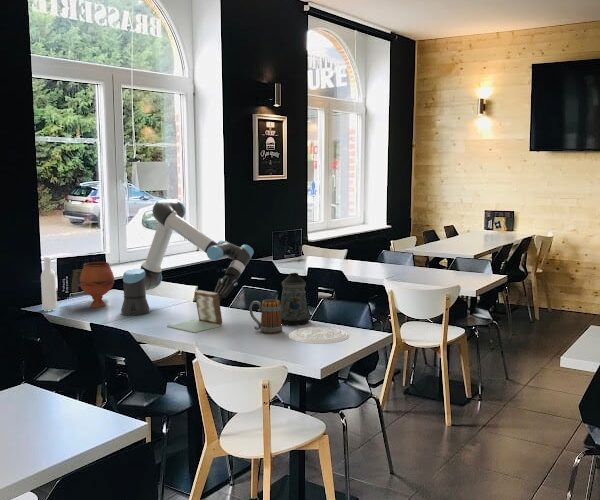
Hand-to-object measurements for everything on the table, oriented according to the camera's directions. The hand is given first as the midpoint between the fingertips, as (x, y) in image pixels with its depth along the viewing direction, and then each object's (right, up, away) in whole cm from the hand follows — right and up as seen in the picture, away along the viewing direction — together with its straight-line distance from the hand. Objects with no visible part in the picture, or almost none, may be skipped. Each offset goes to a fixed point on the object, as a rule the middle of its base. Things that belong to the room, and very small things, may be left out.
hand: (212, 306), depth 331 cm
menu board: (-1, -8, 0) cm, 8 cm away
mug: (+28, -10, -19) cm, 36 cm away
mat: (-8, -9, -9) cm, 15 cm away
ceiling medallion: (+53, -12, -28) cm, 61 cm away
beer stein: (+41, -8, +1) cm, 42 cm away
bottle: (-95, -5, +32) cm, 101 cm away
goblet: (-72, -4, +43) cm, 83 cm away
